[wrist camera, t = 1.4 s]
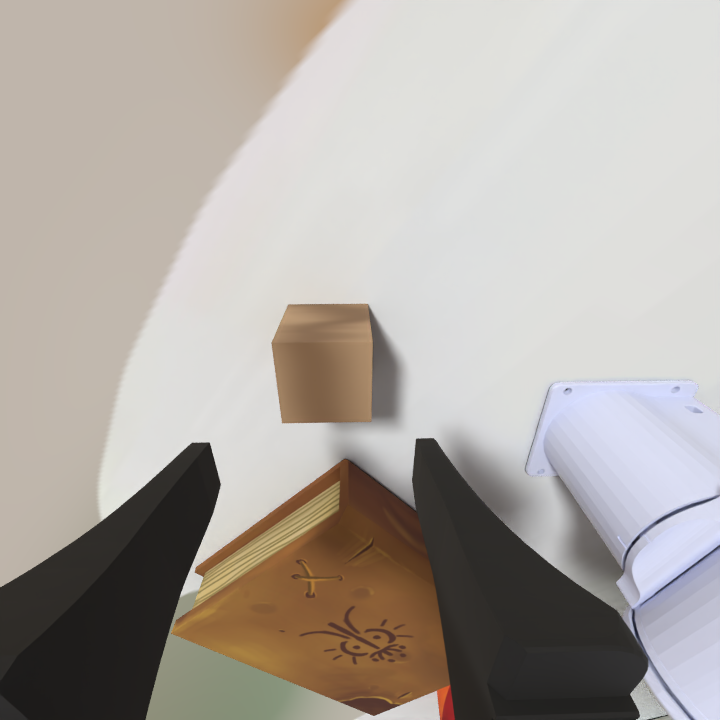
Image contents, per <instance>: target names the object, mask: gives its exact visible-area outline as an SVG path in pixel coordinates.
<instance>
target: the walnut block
mask: <svg viewBox="0 0 720 720" xmlns="http://www.w3.org/2000/svg"><path fill="white" fill-rule="evenodd" d="M272 350H273V357H274V365H275V373H276V380H277V388H278V395H279V403H280V410H281V418H282V423H325V422H371V411H372V356H373V340H372V332H371V324H370V317H369V309H368V304H297V305H288V306H287V309H286V311H285V313H284V316H283V318H282V320H281V322H280V325H279V327H278V329H277V332H276V334H275V336H274V339H273V341H272Z"/></svg>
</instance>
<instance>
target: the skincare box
mask: <svg viewBox="0 0 720 720" xmlns="http://www.w3.org/2000/svg"><path fill="white" fill-rule="evenodd" d="M652 720H672V719H671V718H670V717H669V716H668V715H667V716H664V717H660V718H656V719H652Z"/></svg>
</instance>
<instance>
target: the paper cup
mask: <svg viewBox="0 0 720 720" xmlns="http://www.w3.org/2000/svg"><path fill="white" fill-rule="evenodd" d="M437 695H438V705H439V714H440V720H455V717H454V710H453V702H452V694H451V687H450V685H449V686H447V687H444V688H442V689H439V690H437Z"/></svg>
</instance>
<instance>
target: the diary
mask: <svg viewBox="0 0 720 720" xmlns="http://www.w3.org/2000/svg"><path fill="white" fill-rule="evenodd" d="M195 573H197V574H199V575H201V576H203V577H204V578H203V581H202V583H201V586H200V589H199V592H198V595H197V598H196V600H195V603H194V606H193V609H192V610H191V611H189V612H188V613H186V614H185V615H183V616H182V617H180V618H179V619H177V620H176V622H175V624H174V627H173V630H172V632H171V634H174V635H176V636H179V637H181V638H184V639H186V640H188V641H191V642H193V643H196V644H198V645H201V646H203V647H206V648H208V649H211V650H213V651H215V652H218V653H221V654H223V655H225V656H228V657H230V658H233V659H235V660H238V661H240V662H243V663H245V664H248V665H250V666H252V667H255V668H257V669H260V670H262V671H265V672H267V673H270V674H272V675H274V676H277V677H279V678H282V679H284V680H287V681H290V682H292V683H294V684H297V685H299V686H301V687H304V688H306V689H309V690H312V691H314V692H316V693H319V694H321V695H324V696H326V697H329V698H331V699H334V700H336V701H339V702H341V703H344V704H346V705H348V706H351V707H353V708H356V709H358V710H361V711H363V712H365V713H368V714H370V715H373V716H375V715H377V714H380V713H382V712H385V711H387V710H390V709H392V708H395V707H397V706H400V705H402V704H405V703H407V702H410V701H412V700H414V699H417V698H419V697H422V696H424V695H427V694H429V693H432V692H434V691H437V690H439V689H442V688H444V687H447V686H449V685H450V680H449V673H448V666H447V658H446V652H445V645H444V638H443V632H442V625H441V619H440V612H439V606H438V600H437V594H436V588H435V583H434V578H433V574H432V569H431V566H430V562H429V558H428V554H427V550H426V546H425V542H424V538H423V534H422V530H421V526H420V522H419V518H418V514H417V512H415V511H414V510H413V509H412V508H410V507H409V506H408V505H406V504H405V503H404V502H402V501H401V500H400V499H398V498H397V497H396V496H395V495H393V494H392V493H391V492H389V491H388V490H387V489H385V488H384V487H383V486H381V485H380V484H379V483H377V482H376V481H375V480H374V479H372V478H371V477H370V476H368V475H367V474H366V473H364V472H363V471H362V470H360V469H359V468H358V467H356V466H355V465H354V464H353V463H351V462H350V461H349V460H346V459H344V460H342V461H341V462H340V463H338V464H337V465H335V466H334V467H333V468H331V469H330V470H329V471H327V472H326V473H324V474H323V475H322V476H320V477H319V478H318V479H316V480H315V481H314V482H312V483H311V484H309V485H308V486H307V487H305V488H304V489H303V490H301V491H300V492H298V493H297V494H296V495H294V496H293V497H292V498H290V499H289V500H288V501H286V502H285V503H283V504H282V505H281V506H279V507H278V508H277V509H275V510H274V511H273V512H271V513H270V514H268V515H267V516H266V517H264V518H263V519H262V520H260V521H259V522H257V523H256V524H255V525H253V526H252V527H251V528H249V529H248V530H247V531H245V532H244V533H242V534H241V535H240V536H238V537H237V538H236V539H234V540H233V541H231V542H230V543H229V544H227V545H226V546H225V547H223V548H222V549H221V550H219V551H218V552H216V553H215V554H214V555H212V556H211V557H210V558H208V559H207V560H206V561H204V562H203V563H201V564H200V565H199V566H197V567H196V570H195Z"/></svg>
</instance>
